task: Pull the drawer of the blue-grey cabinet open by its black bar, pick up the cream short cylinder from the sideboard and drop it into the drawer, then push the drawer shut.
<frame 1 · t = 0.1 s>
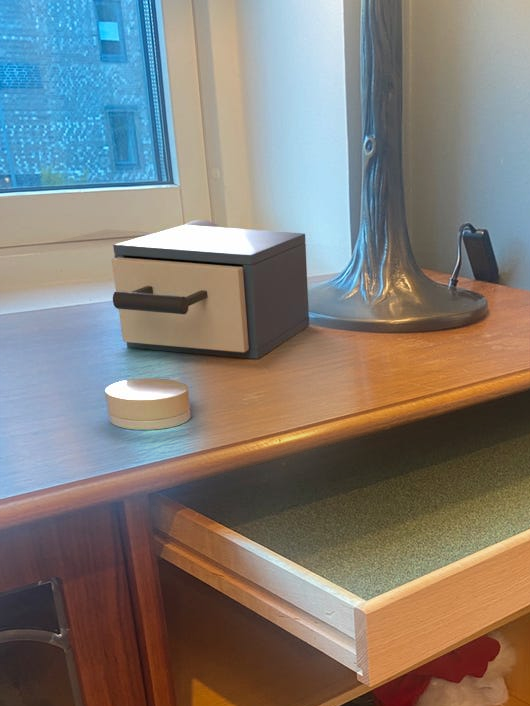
cabinet: (223, 335, 94), on the table
cream short cylinder: (150, 417, 71), on the table
drawer: (197, 298, 87), point 4 cm above the table, slide at 0.5 cm
ceramic mug: (207, 298, 110), on the table
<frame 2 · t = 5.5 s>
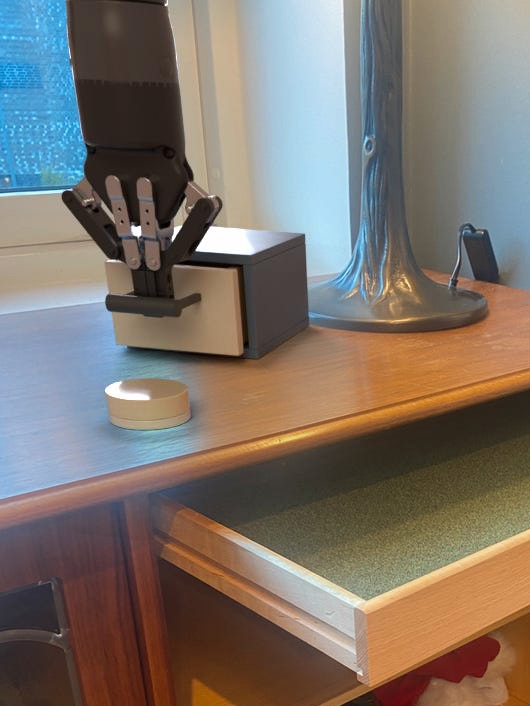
hand: (156, 315, 80), 5 cm above the table, tool pointing down, fingers closed
drawer: (191, 300, 86), point 4 cm above the table, slide at 1.8 cm, touching gripper
everything else where it was.
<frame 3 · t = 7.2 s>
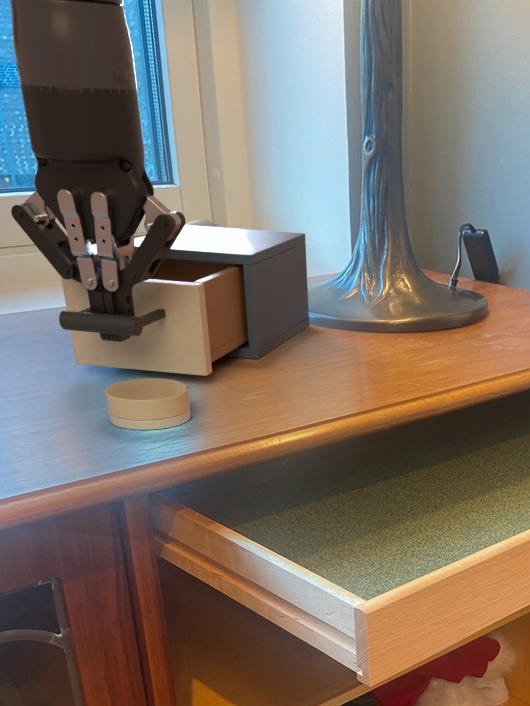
hand: (116, 338, 74), 4 cm above the table, tool pointing down, fingers closed
drawer: (156, 316, 80), point 4 cm above the table, slide at 8.7 cm, touching gripper
everything else where it was.
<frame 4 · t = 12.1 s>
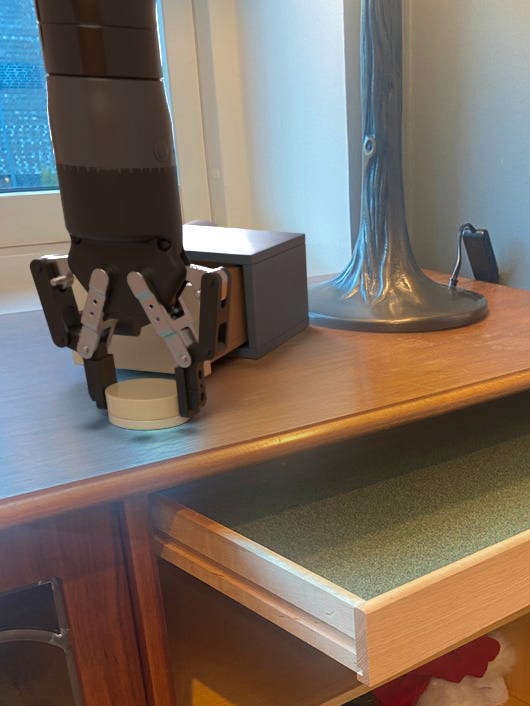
hand: (149, 410, 71), 1 cm above the table, tool pointing down, fingers closed on cream short cylinder, 6 cm apart
cream short cylinder: (150, 417, 71), on the table, touching gripper
drawer: (155, 316, 80), point 4 cm above the table, slide at 8.9 cm
everything else where it was.
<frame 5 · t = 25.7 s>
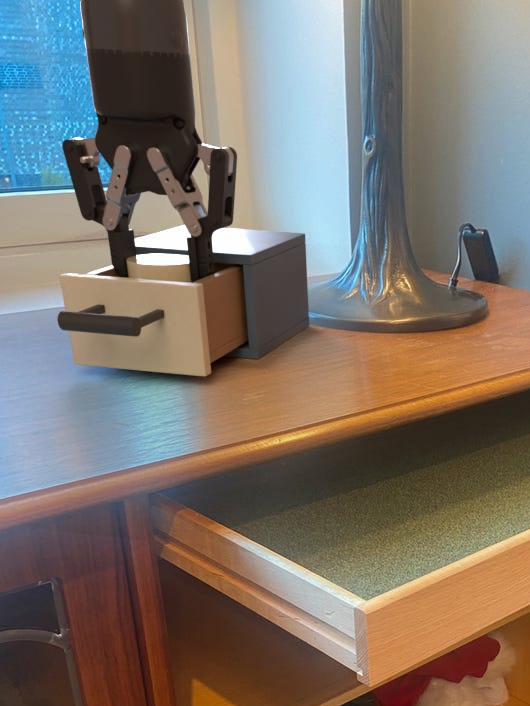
hand: (164, 279, 81), 7 cm above the table, tool pointing down, fingers closed on cream short cylinder, 5 cm apart
cream short cylinder: (165, 286, 81), point 6 cm above the table, touching gripper
everything else where it was.
when the fingers open (9 cm above the table, at t = 31.2 s): cream short cylinder drops 6 cm, resting on drawer.
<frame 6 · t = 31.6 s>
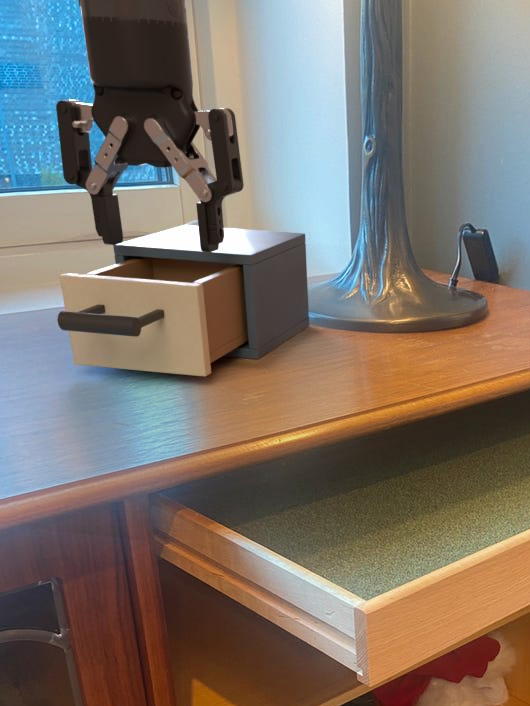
hand: (161, 247, 80), 10 cm above the table, tool pointing down, fingers open, 8 cm apart
cream short cylinder: (169, 339, 84), point 2 cm above the table, touching drawer
drawer: (155, 316, 80), point 4 cm above the table, slide at 8.9 cm, touching cream short cylinder
everything else where it was.
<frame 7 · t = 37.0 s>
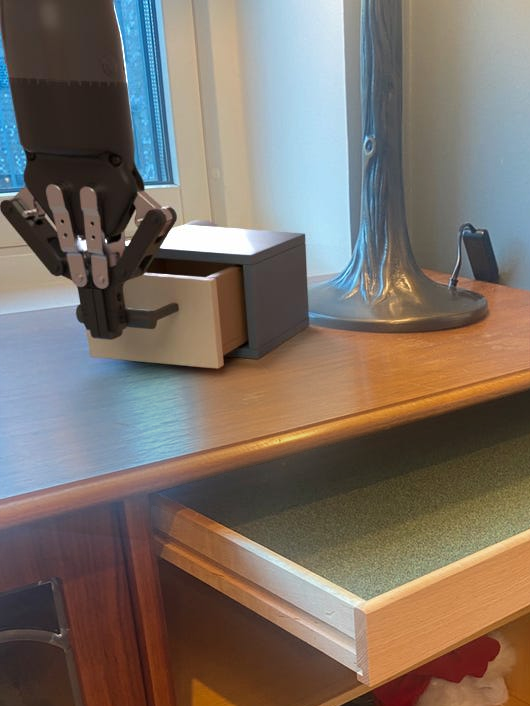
hand: (107, 336, 73), 5 cm above the table, tool pointing down, fingers closed
cream short cylinder: (182, 332, 86), point 2 cm above the table, touching drawer
drawer: (169, 310, 82), point 4 cm above the table, slide at 6.3 cm, touching gripper, cream short cylinder
everything else where it was.
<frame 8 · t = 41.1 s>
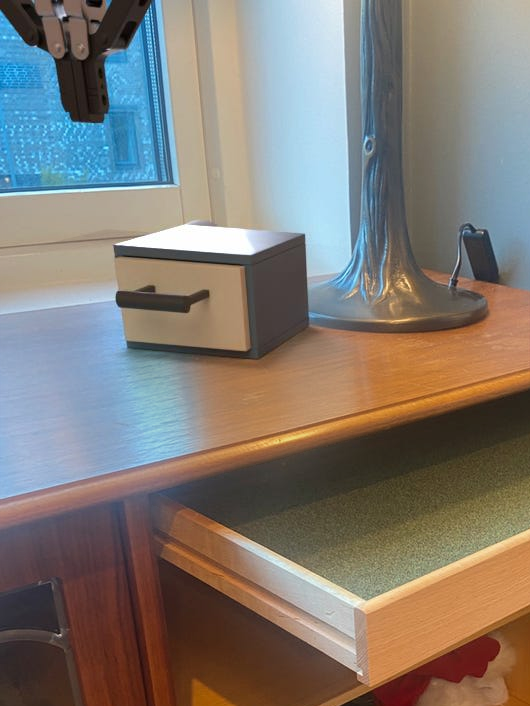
hand: (87, 122, 67), 19 cm above the table, tool pointing down, fingers closed
cream short cylinder: (210, 318, 91), point 2 cm above the table, touching drawer
drawer: (199, 297, 88), point 4 cm above the table, slide at 0.0 cm, touching cream short cylinder
everything else where it was.
at the end: cream short cylinder inside the target area in the cabinet (2.2 cm from its centre), point 2.0 cm above the cabinet's base; drawer slide at 0.0 cm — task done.
